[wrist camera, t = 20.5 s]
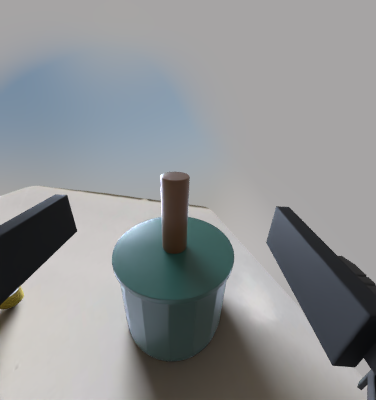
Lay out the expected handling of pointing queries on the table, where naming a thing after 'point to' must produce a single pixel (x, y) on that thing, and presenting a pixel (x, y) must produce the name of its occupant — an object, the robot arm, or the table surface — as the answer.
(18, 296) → the light bulb
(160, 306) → the canister
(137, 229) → the lid
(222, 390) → the table surface
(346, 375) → the table surface
